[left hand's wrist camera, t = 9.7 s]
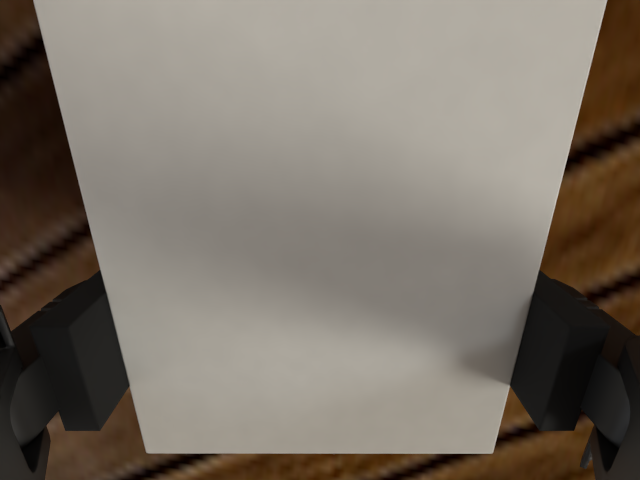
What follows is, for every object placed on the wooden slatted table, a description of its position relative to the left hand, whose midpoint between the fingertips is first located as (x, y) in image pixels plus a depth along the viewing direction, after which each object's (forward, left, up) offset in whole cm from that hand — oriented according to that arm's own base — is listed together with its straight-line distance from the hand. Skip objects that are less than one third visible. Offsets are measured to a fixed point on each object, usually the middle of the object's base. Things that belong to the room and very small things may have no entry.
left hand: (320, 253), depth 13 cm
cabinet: (+3, +5, -6) cm, 8 cm away
